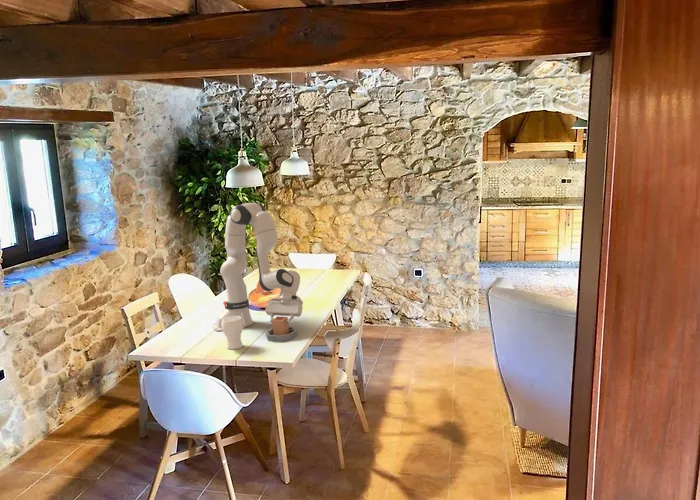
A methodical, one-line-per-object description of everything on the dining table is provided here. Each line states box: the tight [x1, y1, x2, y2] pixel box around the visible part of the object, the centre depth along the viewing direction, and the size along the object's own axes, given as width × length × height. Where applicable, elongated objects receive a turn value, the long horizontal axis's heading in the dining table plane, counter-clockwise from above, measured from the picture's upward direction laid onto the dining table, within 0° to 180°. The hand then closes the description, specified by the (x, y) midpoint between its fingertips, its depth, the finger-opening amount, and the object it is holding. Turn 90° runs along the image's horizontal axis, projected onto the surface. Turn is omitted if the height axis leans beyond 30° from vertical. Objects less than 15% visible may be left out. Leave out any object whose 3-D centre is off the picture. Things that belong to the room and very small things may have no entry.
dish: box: [265, 326, 298, 343], centre depth 304 cm, size 15×15×3 cm
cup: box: [221, 316, 244, 350], centre depth 293 cm, size 11×11×15 cm
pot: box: [271, 315, 290, 336], centre depth 304 cm, size 6×6×9 cm
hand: (280, 322), depth 303 cm, fingers open, 8 cm apart
